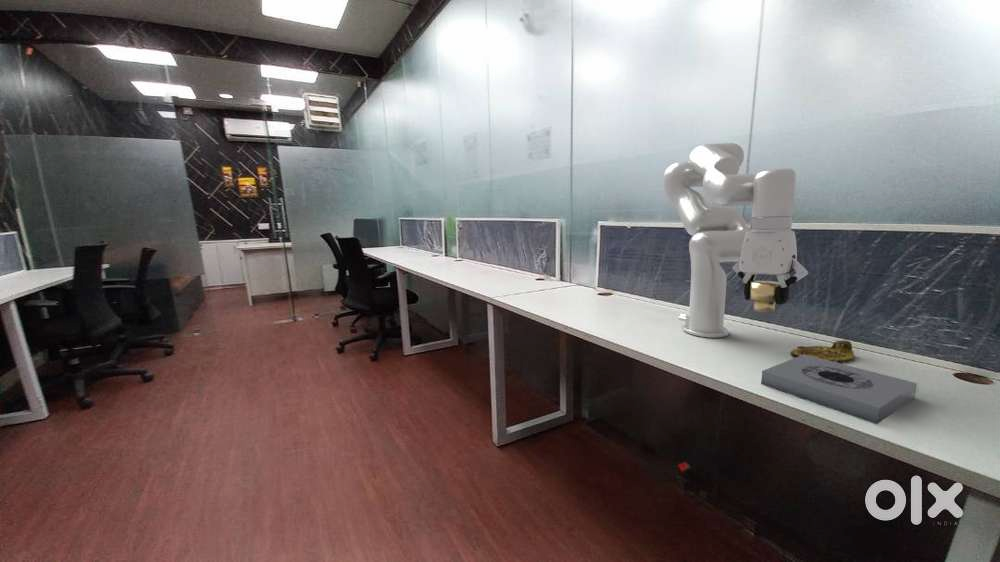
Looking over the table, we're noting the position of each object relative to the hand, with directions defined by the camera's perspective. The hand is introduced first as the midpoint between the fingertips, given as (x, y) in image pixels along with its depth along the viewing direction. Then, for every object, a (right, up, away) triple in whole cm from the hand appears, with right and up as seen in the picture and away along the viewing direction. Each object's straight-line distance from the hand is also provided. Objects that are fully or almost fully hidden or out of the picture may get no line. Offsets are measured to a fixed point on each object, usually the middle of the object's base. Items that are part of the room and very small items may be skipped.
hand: (764, 300), depth 85 cm
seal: (+19, -15, +6) cm, 25 cm away
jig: (+5, -18, -12) cm, 22 cm away
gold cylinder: (0, -2, 0) cm, 2 cm away
